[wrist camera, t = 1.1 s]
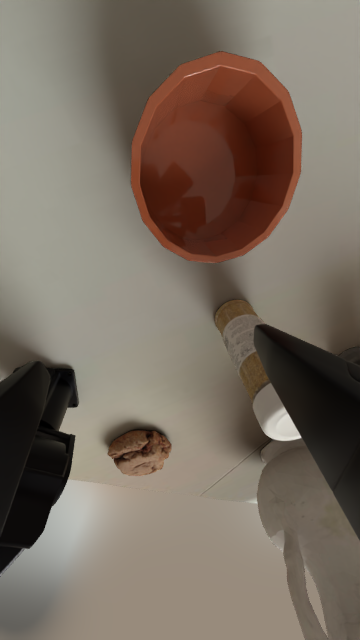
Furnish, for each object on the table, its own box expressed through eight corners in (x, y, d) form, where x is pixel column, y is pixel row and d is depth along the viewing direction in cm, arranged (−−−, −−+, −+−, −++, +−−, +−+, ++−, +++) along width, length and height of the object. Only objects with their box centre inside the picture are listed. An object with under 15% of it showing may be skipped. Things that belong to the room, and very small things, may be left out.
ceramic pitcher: (216, 467, 46) (265, 710, 26) (255, 412, 35) (393, 759, 15) (307, 466, 50) (410, 673, 30) (366, 417, 39) (590, 689, 19)
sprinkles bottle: (250, 330, 27) (322, 439, 15) (212, 334, 27) (258, 448, 15) (255, 295, 24) (345, 394, 13) (214, 299, 24) (270, 403, 13)
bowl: (240, 248, 22) (268, 269, 17) (135, 236, 20) (129, 254, 15) (277, 111, 17) (333, 79, 11) (139, 79, 15) (133, 27, 10)
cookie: (120, 467, 40) (118, 487, 37) (101, 434, 34) (97, 454, 32) (175, 457, 40) (177, 476, 38) (166, 422, 34) (167, 441, 32)
